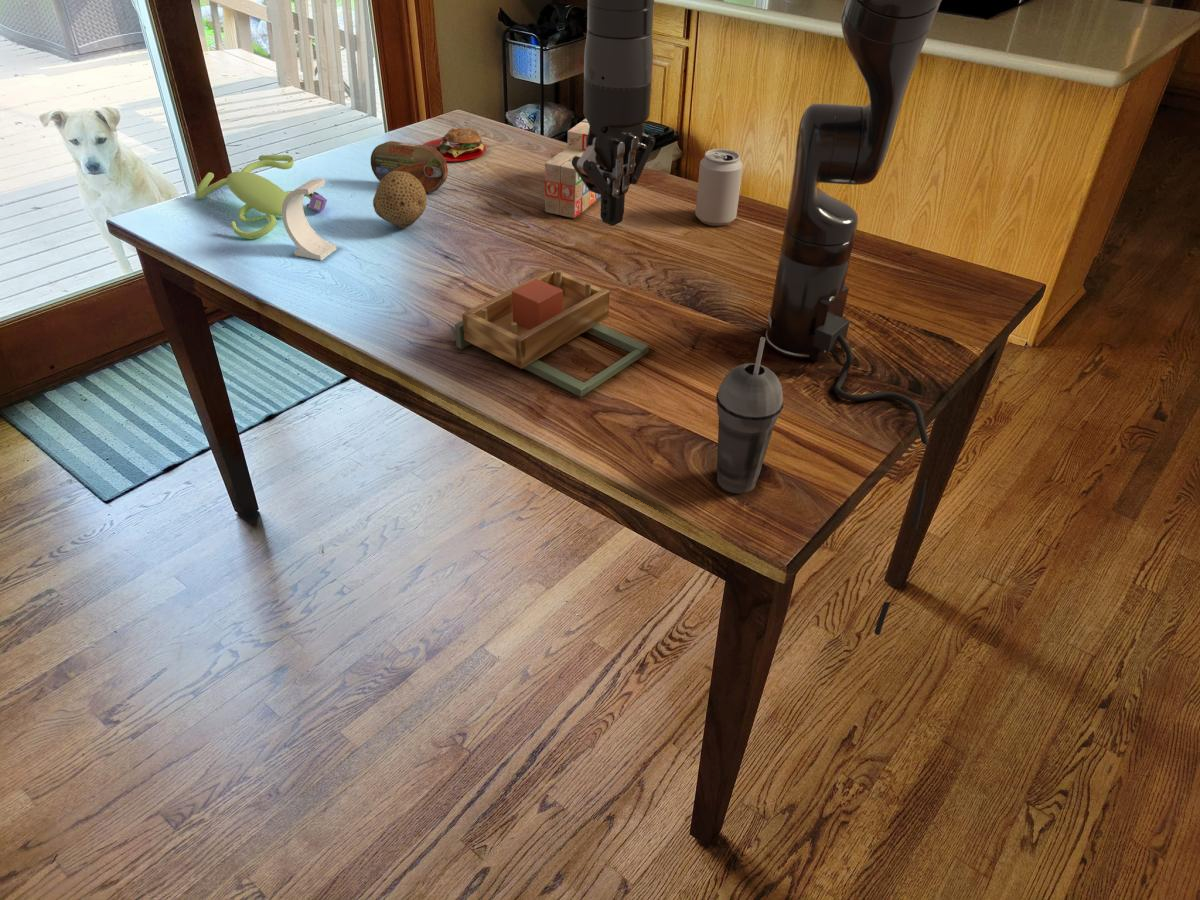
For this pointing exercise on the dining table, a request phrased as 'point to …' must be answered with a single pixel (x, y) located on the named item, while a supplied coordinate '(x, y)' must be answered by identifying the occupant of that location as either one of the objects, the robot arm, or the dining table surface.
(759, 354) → the beverage cup
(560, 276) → the open box
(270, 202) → the figurine
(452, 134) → the hamburger
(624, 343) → the green rectangular frame
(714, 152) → the can
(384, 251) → the dining table surface
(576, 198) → the stack of blocks
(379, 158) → the tin
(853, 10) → the robot arm
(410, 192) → the natural sponge
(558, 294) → the block
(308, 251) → the headphone stand
